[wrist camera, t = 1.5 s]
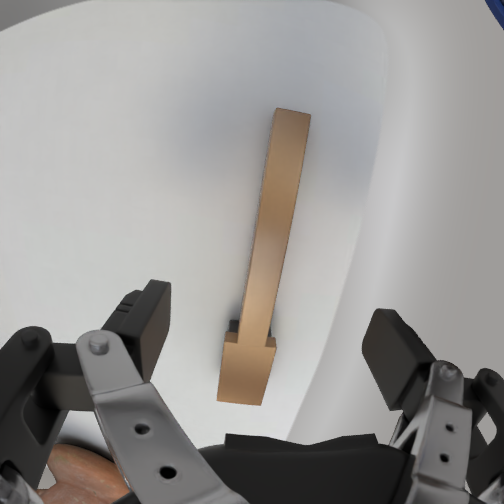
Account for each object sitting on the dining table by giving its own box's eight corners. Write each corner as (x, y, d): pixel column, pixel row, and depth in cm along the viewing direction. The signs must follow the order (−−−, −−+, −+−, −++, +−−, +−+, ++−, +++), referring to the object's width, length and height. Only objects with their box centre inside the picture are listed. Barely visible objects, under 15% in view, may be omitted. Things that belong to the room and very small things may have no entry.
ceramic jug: (158, 469, 30) (140, 555, 16) (138, 493, 34) (123, 557, 21) (38, 410, 27) (-4, 485, 13) (43, 448, 31) (16, 506, 18)
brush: (258, 112, 16) (260, 104, 13) (313, 122, 17) (326, 117, 14) (219, 375, 23) (216, 403, 20) (259, 380, 23) (260, 407, 20)
